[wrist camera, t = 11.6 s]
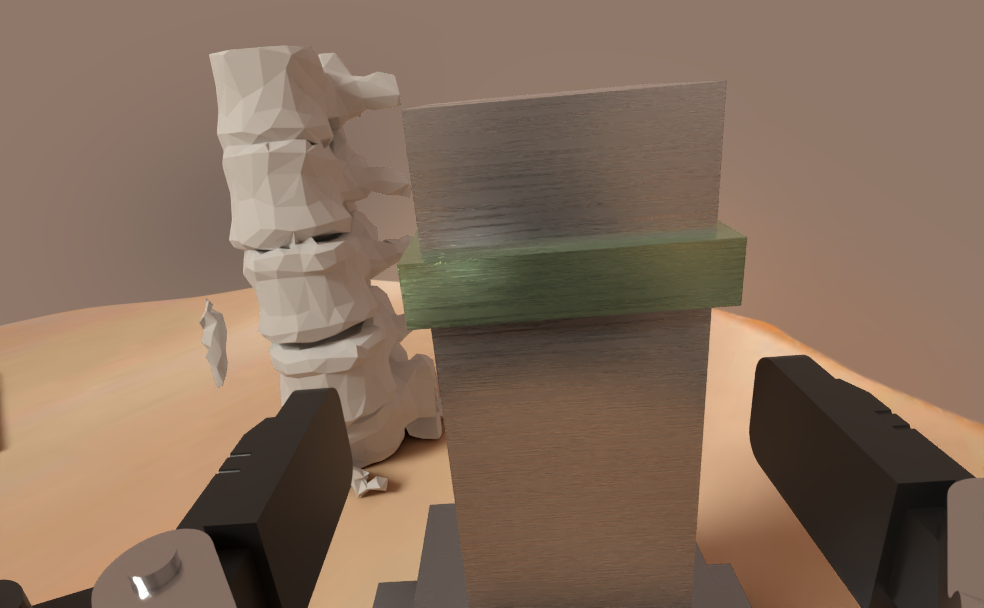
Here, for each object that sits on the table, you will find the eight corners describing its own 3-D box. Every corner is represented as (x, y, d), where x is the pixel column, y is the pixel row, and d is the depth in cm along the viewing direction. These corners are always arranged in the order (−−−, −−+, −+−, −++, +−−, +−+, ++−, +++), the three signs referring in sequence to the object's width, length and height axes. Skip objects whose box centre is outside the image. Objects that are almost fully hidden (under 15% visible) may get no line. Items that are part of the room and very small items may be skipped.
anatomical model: (454, 397, 43) (410, 48, 34) (422, 507, 32) (343, 29, 23) (321, 400, 44) (244, 65, 35) (244, 507, 33) (102, 55, 24)
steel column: (477, 786, 12) (373, 113, 7) (483, 596, 16) (422, 104, 11) (699, 778, 12) (760, 78, 7) (643, 588, 16) (655, 82, 11)
